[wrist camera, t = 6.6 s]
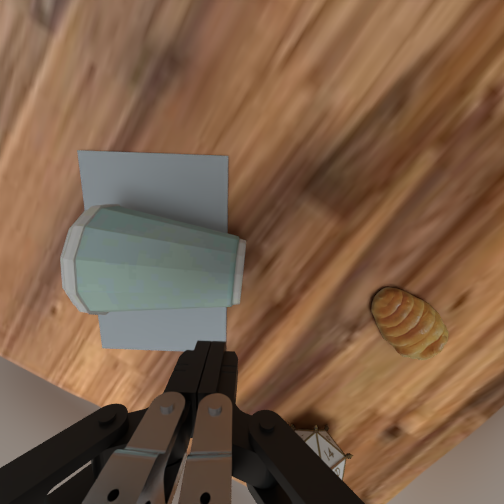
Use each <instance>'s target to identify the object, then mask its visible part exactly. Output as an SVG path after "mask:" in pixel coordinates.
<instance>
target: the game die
mask: <svg viewBox="0 0 504 504" xmlns="http://www.w3.org/2000/svg"><path fill="white" fill-rule="evenodd" d="M291 428H292V429H293V430H294V431H295V432H296V433H297V434H298V435H299V436H300V437H301V438H302V439H303V440H304V441H305V442H306V443H307V444H308V445H309V447H310V448H311V449H312V450H313V451H314V452H315V453H316V454H317V455H318V456H319V457H320V458H321V459H322V460H323V461H324V462H325V463H326V464H327V465H328V466H329V467H330V468H331V469H332V470H333V471H334V472H335V473H336V474H337V475H338V476H339V478H340V479H341V480H342V481H343V476H344V470H345V464H346V458H348V459H349V458H350V459H351V457H352V456H353V455H351V454H350V453H349V454H346V455H345V454H344V453H343V451H342V450H341V449H340V448H339V446H338V445H337V444H336V443H335V441H334V440H333V439H332V437H331V436H330V435H329V434H328V432H327V430H328V429H329V428H328V425H326V426H325V428H324V429H325V430H318V426H317V425H315V426H314V430H308V429H295V427H294V425H293V424H291Z"/></svg>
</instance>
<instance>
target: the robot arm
mask: <svg viewBox="0 0 504 504" xmlns="http://www.w3.org/2000/svg"><path fill="white" fill-rule="evenodd" d="M237 376H238V357H237V355H236V353H235V352H232V351H226V341H202V340H198V341H197V343H196V346H195V348H194V350H186V351H185V352H184V353H183V354H182V355H181V356H180V357H179V359H178V361H177V364H176V366H175V368H174V371H173V373H172V375H171V377H170V379H169V382H168V384H167V386H166V388H165V390H164V393H163V394H161V395H159V396H158V397H156V398H155V399H154V400H153V401H152V403H151V404H150V406H149V407H148V408H146V409H143V410H139V411H135V412H131V413H128V411H127V408H126V407H125V406H124V405H121V404H110V405H107V406H104V407H102V408H100V409H99V410H97V411H95V412H94V413H92V414H91V415H89V416H87V417H85V418H83V419H82V420H80V421H78V422H77V423H75V424H73V425H72V426H70V427H69V428H67V429H65V430H63V431H62V432H60V433H58V434H57V435H55V436H53V437H52V438H50V439H48V440H47V441H45V442H43V443H42V444H40V445H38V446H37V447H35V448H33V449H32V450H30V451H28V452H26V453H25V454H23V455H21V456H20V457H18V458H16V459H15V460H13V461H11V462H10V463H8V464H6V465H5V466H3V467H1V468H0V504H172V501H173V498H174V495H175V492H176V489H177V486H178V483H179V480H180V476H181V473H182V470H183V467H184V464H185V461H186V464H185V470H184V475H183V480H182V486H181V491H180V497H179V502H178V504H231V479H232V476H233V477H235V478H237V479H239V480H242V481H244V482H246V483H247V487H248V490H249V492H250V493H251V495H252V496H253V498H254V500H255V501H256V503H257V504H365V503H364V502H363V501H362V500H361V499H360V498H359V497H358V496H357V495H356V494H355V493H354V492H353V491H352V490H351V489H350V488H349V487H348V486H347V485H346V484H345V483H344V482H343V481H342V480H341V479H340V478H339V476H338V475H337V474H336V473H335V472H334V471H333V470H332V469H331V468H330V467H329V466H328V465H327V464H326V463H325V462H324V461H323V460H322V459H321V458H320V457H319V456H318V455H317V454H316V453H315V452H314V451H313V450H312V449H311V448H310V447H309V445H308V444H307V443H306V442H305V441H304V440H303V439H302V438H301V437H300V436H299V435H298V434H297V433H296V432H295V431H294V430H293V429H292V428H291V427H290V426H289V425H288V424H287V423H286V422H285V421H284V420H283V419H282V418H281V417H280V416H279V415H278V414H277V413H275V412H273V411H270V410H261V411H258V412H256V413H254V414H253V415H249V414H246V413H244V412H242V411H241V410H240V409H239V408H238V407H237V406H236V404H235V403H236V391H237ZM190 438H193V440H192V446H191V452H190V455H188V456H187V448H188V445H189V441H190ZM186 458H187V459H186ZM90 460H91V464H90V465H88V466H87V467H86V468H84V469H83V470H82V471H80V472H79V473H77V474H76V475H75V476H74V477H72V478H71V479H69V480H68V481H67V482H65V483H64V484H63V485H61V486H60V487H58V488H57V489H56V490H54V491H53V492H52V493H50V494H48V492H49V491H50V490H51V489H52V488H53V487H54V486H56V485H57V484H58V483H60V482H61V481H63V480H64V479H65V478H67V477H68V476H70V475H71V474H72V473H74V472H75V471H76V470H78V469H79V468H81V467H82V466H83V465H85V464H86V463H88V462H89V461H90ZM47 494H48V495H47Z"/></svg>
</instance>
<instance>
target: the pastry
mask: <svg viewBox="0 0 504 504" xmlns="http://www.w3.org/2000/svg"><path fill="white" fill-rule="evenodd" d="M371 312H372V314H373V316H374V318H375V322H376V325H377V326H378V328H379V329H380V331H381V334H382V337H383V338H384V339H385V340H386V341H388V342H389V343H390V344H391V345H392V346H393V347H394V348H395V349H396V351H397V352H398V353H399V354H400V355H402V356H404V357H409V358H413V359H419V360H427V359H429V358H432V357H434V356H435V355H437V354H438V353H440V352H441V351H442V349H443V347H444V345H445V344H446V343H447V340H448V331H447V328H446V326H445V325H444V324H443V322H442V319H441V317H440V315H439V313H438V312H437V311H436V310H434V309H433V308H432V307H431V306H430V305H429V304H428V303H427V302H425V301H423V300H421V299H419V298H416V297H414V296H413V295H411V294H409V293H407V292H405V291H403V290H401V289H397V288H391V287H386V288H383V289H382V290H381V291H379V292H378V293H377V294H376V295H375V297H374V299H373V301H372V308H371Z"/></svg>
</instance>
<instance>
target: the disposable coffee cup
mask: <svg viewBox="0 0 504 504" xmlns="http://www.w3.org/2000/svg"><path fill="white" fill-rule="evenodd" d="M245 249H246V240H243V239H240V238H239V236H235V235H231V234H227V233H223V232H219V231H215V230H211V229H207V228H203V227H200V226H196V225H192V224H188V223H184V222H180V221H176V220H172V219H168V218H164V217H160V216H156V215H152V214H148V213H144V212H140V211H136V210H132V209H128V208H124V207H121V206H120V205H119V204H106V205H97V206H91V207H90V208H89V209H88V210H85V211H84V212H83V213H82V214H81V216H80V217H79V218H78V219H77V220H76V221H75V223H74V224H73V225H72V226H71V227H70V229H69V231H68V234H67V238H66V241H65V244H64V248H63V251H62V254H61V258H60V260H61V275H62V287H63V289H64V291H65V292H66V294H67V295H68V297H69V298H70V300H71V301H72V303H73V304H74V305H75V306H76V307H77V309H78V310H79V311H80V312H86V313H89V314H95V315H106V314H108V313H109V312H118V311H141V310H165V309H188V308H211V307H231V306H232V305H234V304H240V296H241V287H242V278H243V268H244V259H245Z"/></svg>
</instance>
